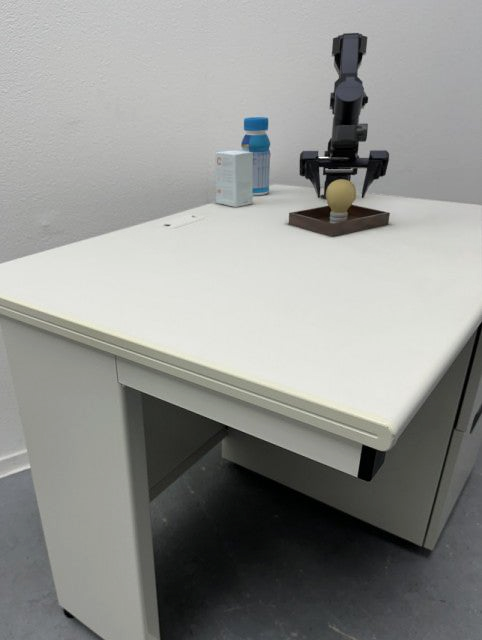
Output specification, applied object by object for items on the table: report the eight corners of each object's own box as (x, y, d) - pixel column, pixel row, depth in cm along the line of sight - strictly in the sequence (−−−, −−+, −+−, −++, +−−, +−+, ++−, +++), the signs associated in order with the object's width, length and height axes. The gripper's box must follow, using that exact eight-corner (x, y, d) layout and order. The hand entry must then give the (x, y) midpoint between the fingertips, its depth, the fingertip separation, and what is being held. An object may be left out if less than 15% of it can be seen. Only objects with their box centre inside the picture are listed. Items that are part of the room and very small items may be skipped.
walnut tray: (342, 213, 133) (343, 202, 132) (388, 224, 123) (390, 212, 121) (288, 224, 126) (288, 212, 124) (332, 236, 115) (333, 224, 114)
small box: (252, 203, 146) (253, 151, 140) (235, 207, 143) (235, 154, 137) (232, 199, 152) (232, 149, 146) (215, 203, 148) (214, 152, 142)
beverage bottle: (261, 197, 154) (262, 119, 144) (235, 194, 158) (235, 118, 149) (274, 191, 160) (276, 116, 151) (249, 189, 164) (249, 116, 155)
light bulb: (317, 227, 121) (321, 180, 117) (332, 221, 126) (336, 176, 121) (343, 231, 118) (347, 183, 113) (357, 225, 122) (362, 178, 117)
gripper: (302, 110, 116) (296, 172, 111) (394, 108, 112) (392, 173, 108) (302, 145, 126) (296, 204, 122) (386, 145, 123) (383, 205, 118)
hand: (340, 196), depth 117 cm, fingers open, 9 cm apart
